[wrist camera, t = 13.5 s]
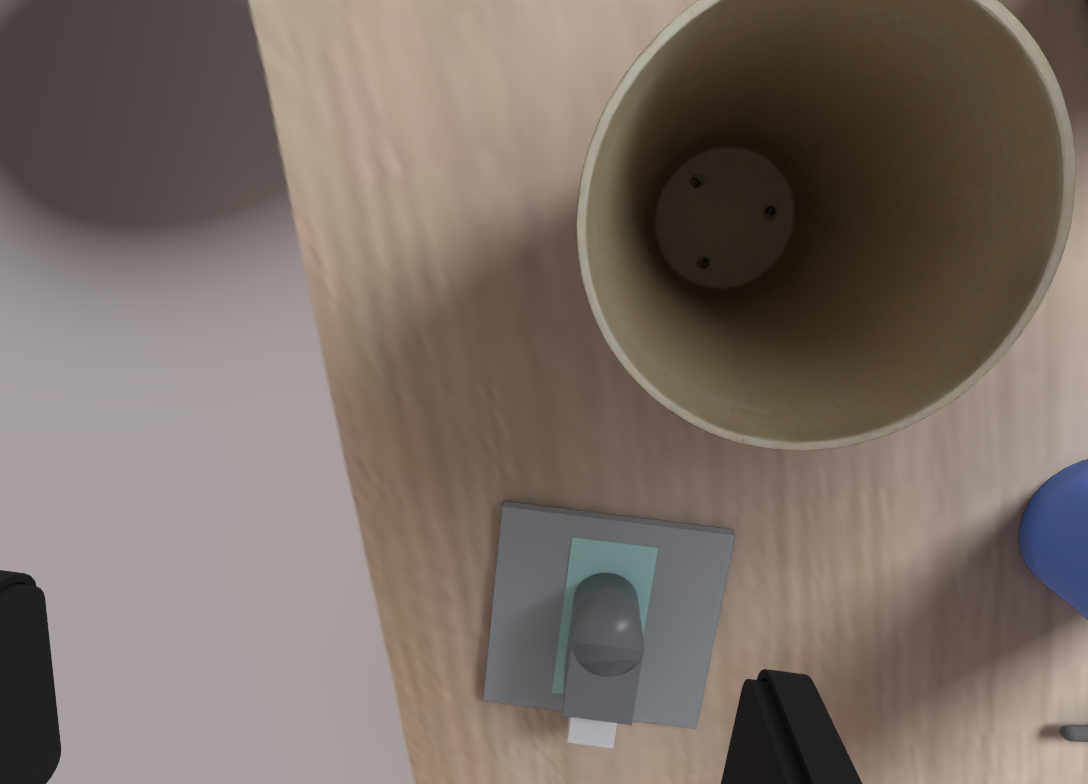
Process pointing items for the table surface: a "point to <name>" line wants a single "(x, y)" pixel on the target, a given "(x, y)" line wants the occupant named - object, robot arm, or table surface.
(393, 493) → the table surface
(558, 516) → the dock pad
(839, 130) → the plant pot
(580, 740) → the usb plug
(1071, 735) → the walkie-talkie
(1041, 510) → the water bottle
